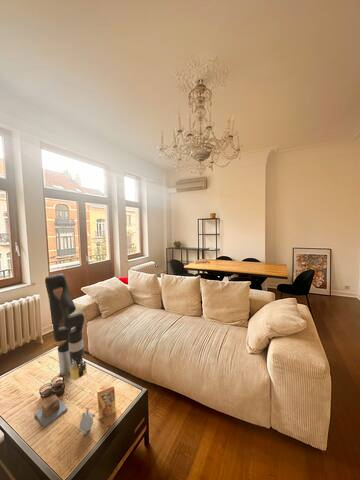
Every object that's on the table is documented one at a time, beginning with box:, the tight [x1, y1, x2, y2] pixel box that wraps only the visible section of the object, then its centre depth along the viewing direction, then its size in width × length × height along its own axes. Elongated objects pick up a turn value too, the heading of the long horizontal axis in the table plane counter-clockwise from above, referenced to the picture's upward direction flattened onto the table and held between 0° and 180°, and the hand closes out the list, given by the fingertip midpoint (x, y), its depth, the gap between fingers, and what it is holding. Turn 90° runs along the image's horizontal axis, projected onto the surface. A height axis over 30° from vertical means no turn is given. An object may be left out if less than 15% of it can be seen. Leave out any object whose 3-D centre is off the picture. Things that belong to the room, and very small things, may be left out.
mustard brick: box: [69, 364, 88, 382], centre depth 119 cm, size 7×5×6 cm
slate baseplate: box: [34, 399, 68, 428], centre depth 115 cm, size 12×12×1 cm
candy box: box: [96, 383, 117, 420], centre depth 113 cm, size 9×4×15 cm, turn 116°
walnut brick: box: [40, 394, 60, 418], centre depth 115 cm, size 7×5×6 cm
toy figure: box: [77, 408, 96, 436], centre depth 104 cm, size 11×6×12 cm, turn 154°
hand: (78, 373), depth 119 cm, fingers closed on mustard brick, 5 cm apart
